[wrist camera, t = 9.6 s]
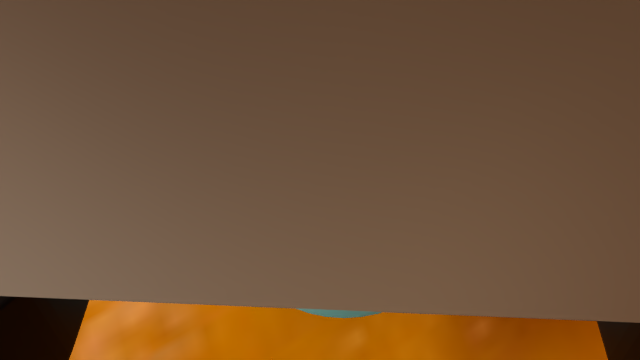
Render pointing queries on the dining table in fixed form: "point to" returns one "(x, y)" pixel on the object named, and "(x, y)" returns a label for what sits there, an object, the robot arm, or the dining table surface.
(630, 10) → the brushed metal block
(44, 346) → the robot arm
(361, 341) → the dining table surface
